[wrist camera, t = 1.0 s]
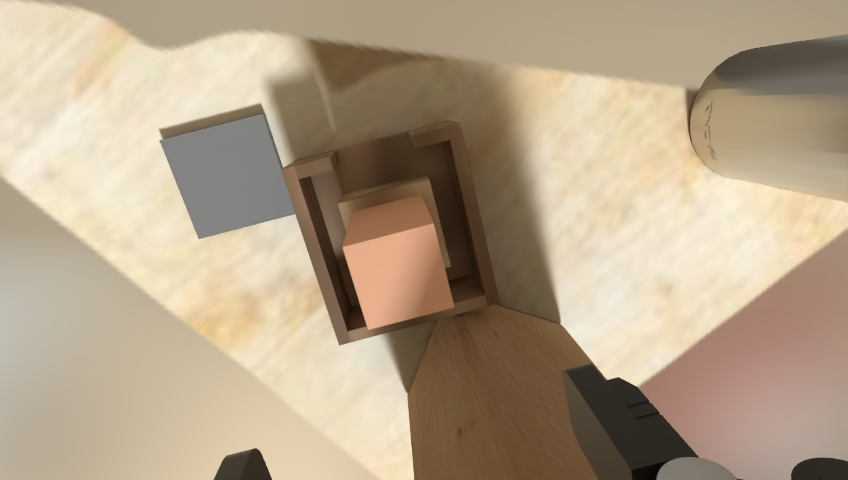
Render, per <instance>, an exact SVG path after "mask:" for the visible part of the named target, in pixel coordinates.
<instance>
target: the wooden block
mask: <svg viewBox="0 0 848 480" xmlns="http://www.w3.org/2000/svg"><path fill="white" fill-rule="evenodd" d="M589 363H592V364H593V365H594V363H593V362H592V361H591V360H590V359H589V357H588V356H587V355H586V354H585V352H584V351H583V350H582V349H581V348H580V346H579V345H578V344H577V343H576V341H575V340H574V339H573V338H572V337H571V335H570V334H569V333H568V332H567V330H566V329H565V328H564V327H563V326H562V325H560V324H557V323H554V322H550V321H547V320H544V319H541V318H538V317H534V316H531V315H528V314H525V313H521V312H518V311H515V310H512V309H508V308H505V307H502V306H499V305H495V304H494V305H490V306H486V307H482V308H479V309H475V310H471V311H467V312H463V313H460V314H456V315H452V316H448V317H445V318H441V319H437V321H436V324H435V327H434V329H433V332H432V334H431V337H430V339H429V342H428V345H427V347H426V350H425V352H424V355H423V357H422V360H421V363H420V365H419V368H418V370H417V373H416V375H415V378H414V381H413V383H412V386H411V388H410V391H409V393H408V409H409V420H410V432H411V444H412V456H413V468H414V480H598V478H597V476H596V474H595V472H594V471H593V469H592V467H591V465H590V463H589V462H588V460H587V458H586V456H585V455H584V453H583V451H582V449H581V447H580V445H579V443H578V441H577V439H576V436H575V433H574V430H573V427H572V423H571V419H570V414H569V409H568V403H567V398H566V393H565V387H564V382H563V376H562V372H563V370H566V369H570V368H573V367H577V366H581V365H585V364H589ZM594 366H595V365H594ZM595 367H596V366H595ZM596 369H597V370H598V368H597V367H596ZM598 371H599V370H598ZM599 373H600V374H601V375H602V376H603V374H602V373H601V372H600V371H599ZM603 378H604V379H605V380H607V379H606V378H605V377H604V376H603Z"/></svg>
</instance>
